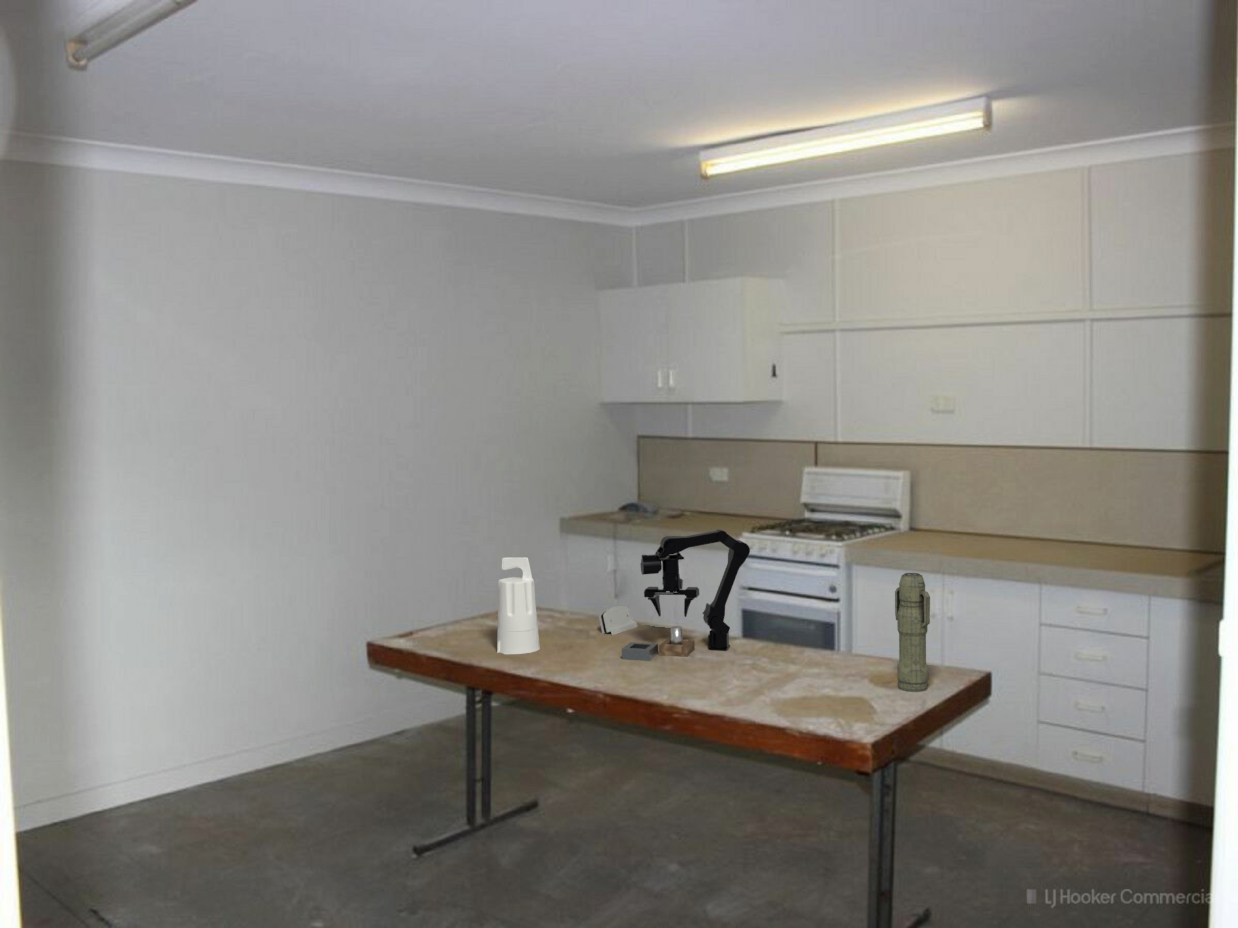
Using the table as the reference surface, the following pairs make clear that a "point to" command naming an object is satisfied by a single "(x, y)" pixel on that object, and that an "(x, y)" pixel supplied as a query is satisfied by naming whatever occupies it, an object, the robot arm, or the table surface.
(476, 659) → the table surface
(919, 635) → the thermos
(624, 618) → the hinge
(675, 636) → the metal cylinder peg
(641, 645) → the block
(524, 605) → the white hook-topped canister
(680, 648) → the socket block
